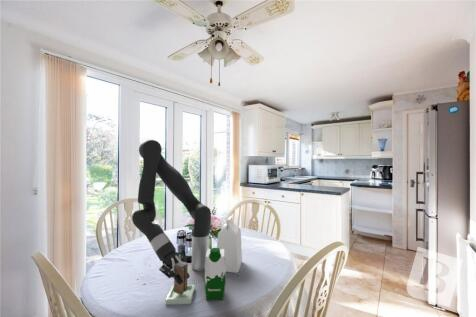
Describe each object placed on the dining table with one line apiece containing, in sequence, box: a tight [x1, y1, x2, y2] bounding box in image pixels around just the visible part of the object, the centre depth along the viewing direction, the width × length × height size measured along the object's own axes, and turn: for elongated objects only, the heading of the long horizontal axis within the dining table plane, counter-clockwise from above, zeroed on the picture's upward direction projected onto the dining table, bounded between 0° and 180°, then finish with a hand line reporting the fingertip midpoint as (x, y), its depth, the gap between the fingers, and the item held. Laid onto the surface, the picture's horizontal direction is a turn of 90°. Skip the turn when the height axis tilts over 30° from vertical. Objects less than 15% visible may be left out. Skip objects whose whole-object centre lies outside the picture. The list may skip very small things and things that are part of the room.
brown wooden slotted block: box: [173, 261, 189, 295], centre depth 91 cm, size 4×4×11 cm
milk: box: [216, 216, 243, 274], centre depth 117 cm, size 12×12×26 cm
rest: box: [165, 284, 196, 305], centre depth 91 cm, size 10×10×2 cm
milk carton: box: [204, 247, 227, 301], centre depth 92 cm, size 9×9×20 cm
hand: (184, 280), depth 90 cm, fingers closed on brown wooden slotted block, 3 cm apart
